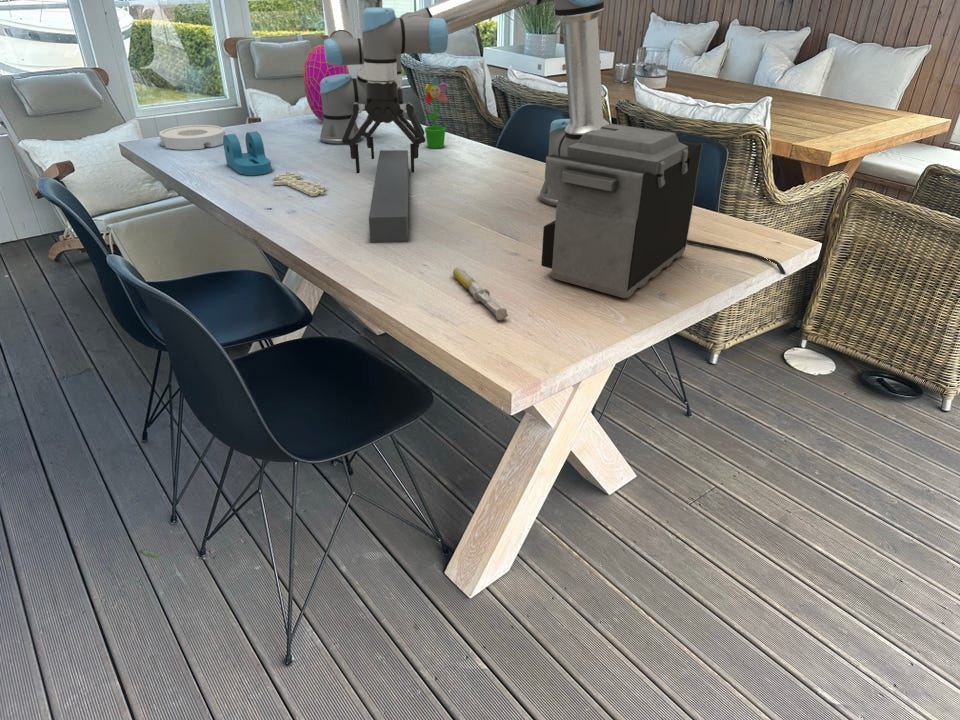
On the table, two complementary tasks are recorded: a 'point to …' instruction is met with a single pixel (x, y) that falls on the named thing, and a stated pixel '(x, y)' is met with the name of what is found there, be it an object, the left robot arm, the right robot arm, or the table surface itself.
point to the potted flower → (435, 133)
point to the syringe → (479, 293)
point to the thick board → (390, 198)
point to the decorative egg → (318, 77)
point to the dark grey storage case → (619, 207)
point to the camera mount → (246, 154)
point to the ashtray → (192, 137)
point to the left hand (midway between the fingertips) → (394, 158)
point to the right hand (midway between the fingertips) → (385, 171)
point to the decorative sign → (299, 184)
